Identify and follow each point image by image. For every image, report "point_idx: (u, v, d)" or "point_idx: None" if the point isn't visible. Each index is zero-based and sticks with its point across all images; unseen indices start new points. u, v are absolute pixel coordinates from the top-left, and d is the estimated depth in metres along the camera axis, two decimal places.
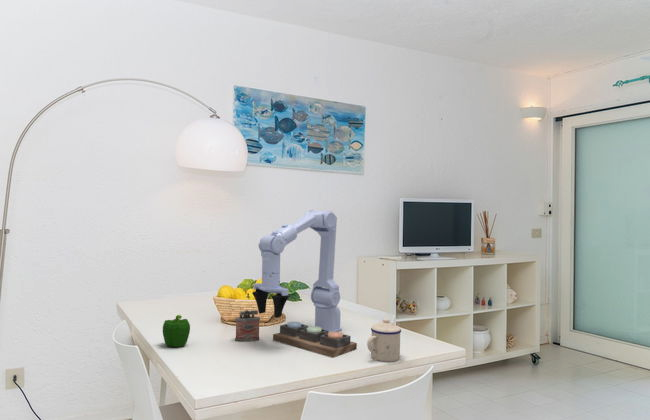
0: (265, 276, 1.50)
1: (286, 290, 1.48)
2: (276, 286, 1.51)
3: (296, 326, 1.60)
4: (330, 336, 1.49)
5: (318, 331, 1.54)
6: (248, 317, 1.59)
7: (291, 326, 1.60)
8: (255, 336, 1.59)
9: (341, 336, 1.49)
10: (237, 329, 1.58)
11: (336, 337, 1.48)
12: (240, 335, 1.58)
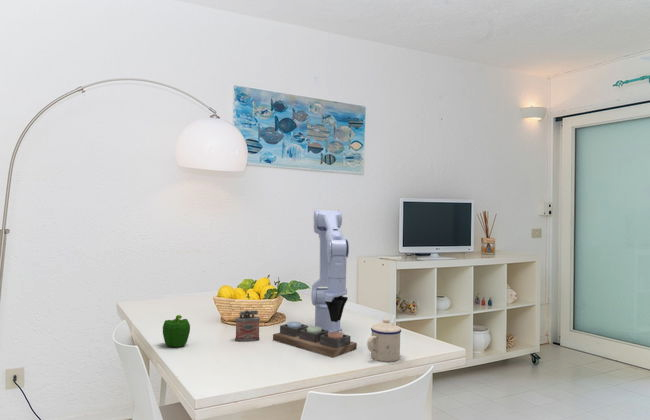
0: None
1: (328, 296, 1.44)
2: (333, 291, 1.48)
3: (296, 326, 1.60)
4: (330, 336, 1.49)
5: (318, 331, 1.54)
6: (248, 317, 1.59)
7: (291, 326, 1.60)
8: (255, 336, 1.59)
9: (341, 336, 1.49)
10: (237, 329, 1.58)
11: (336, 337, 1.48)
12: (240, 336, 1.58)
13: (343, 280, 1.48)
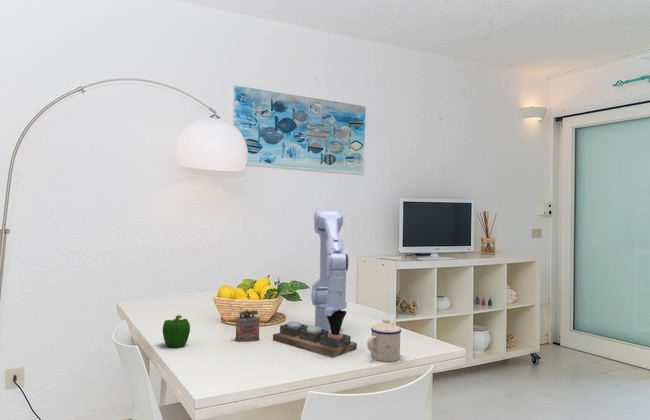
0: None
1: (328, 310, 1.44)
2: (332, 305, 1.48)
3: (296, 326, 1.60)
4: (330, 337, 1.49)
5: (318, 331, 1.54)
6: (248, 317, 1.59)
7: (291, 326, 1.60)
8: (255, 336, 1.59)
9: (341, 337, 1.49)
10: (237, 329, 1.58)
11: (336, 338, 1.48)
12: (240, 335, 1.58)
13: (343, 294, 1.48)
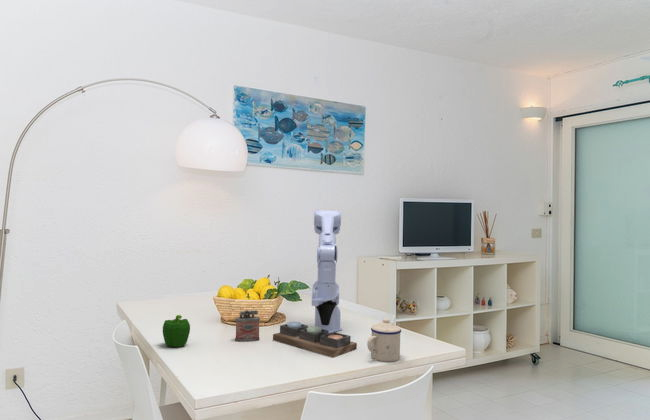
0: None
1: (314, 300, 1.47)
2: (321, 296, 1.51)
3: (296, 326, 1.60)
4: None
5: (318, 331, 1.54)
6: (248, 317, 1.59)
7: (291, 326, 1.60)
8: (255, 336, 1.59)
9: None
10: (237, 329, 1.58)
11: None
12: (240, 336, 1.58)
13: (331, 285, 1.51)
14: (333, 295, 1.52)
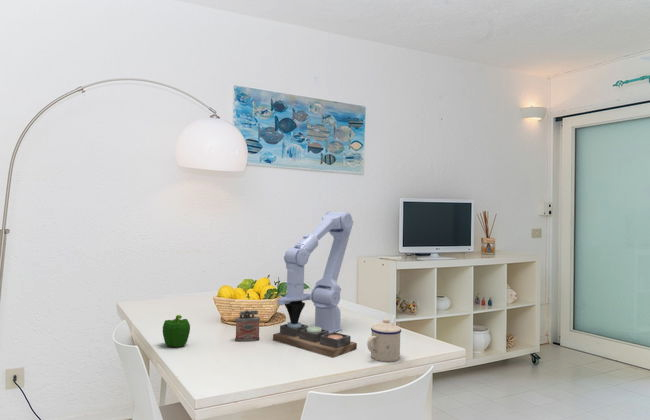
0: None
1: (279, 300, 1.56)
2: (289, 296, 1.60)
3: (296, 326, 1.60)
4: None
5: (318, 331, 1.54)
6: (248, 317, 1.59)
7: (291, 326, 1.60)
8: (255, 336, 1.59)
9: None
10: (237, 329, 1.58)
11: None
12: (240, 336, 1.58)
13: (298, 286, 1.59)
14: (300, 296, 1.60)
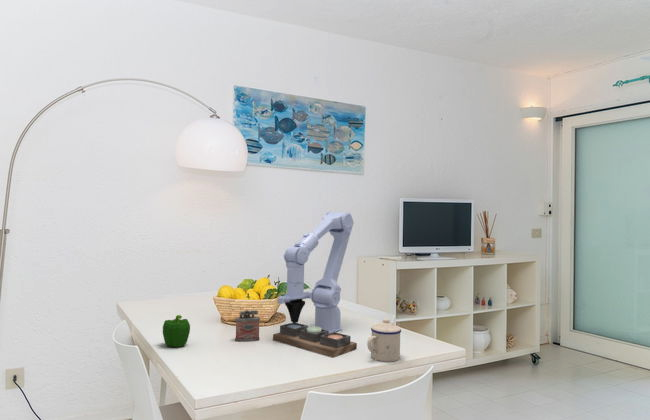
0: None
1: (280, 298, 1.56)
2: (289, 295, 1.60)
3: None
4: None
5: (318, 331, 1.54)
6: (248, 317, 1.59)
7: None
8: (255, 336, 1.59)
9: None
10: (237, 329, 1.58)
11: None
12: (240, 336, 1.58)
13: (298, 284, 1.59)
14: (300, 294, 1.60)
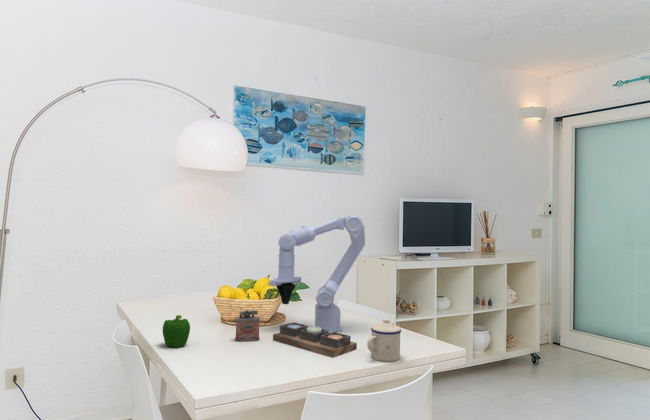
0: None
1: (272, 281, 1.69)
2: (280, 278, 1.73)
3: None
4: None
5: (318, 331, 1.54)
6: (248, 317, 1.59)
7: None
8: (255, 336, 1.59)
9: None
10: (237, 329, 1.58)
11: None
12: (240, 336, 1.58)
13: (289, 269, 1.72)
14: (291, 278, 1.73)
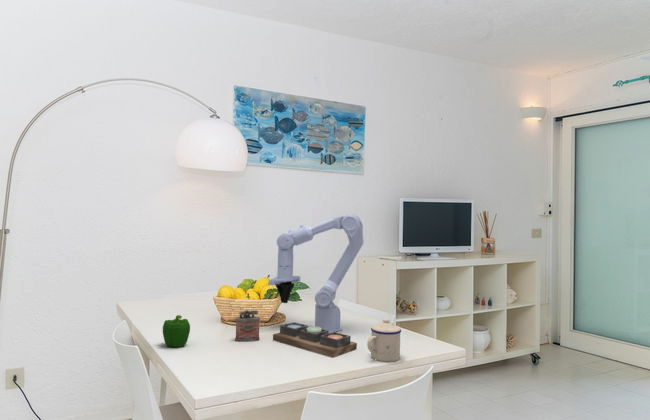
0: None
1: (270, 280, 1.71)
2: (279, 277, 1.74)
3: None
4: None
5: (318, 331, 1.54)
6: (248, 317, 1.59)
7: None
8: (255, 336, 1.59)
9: None
10: (237, 329, 1.58)
11: None
12: (240, 336, 1.58)
13: (288, 268, 1.74)
14: (290, 277, 1.75)
